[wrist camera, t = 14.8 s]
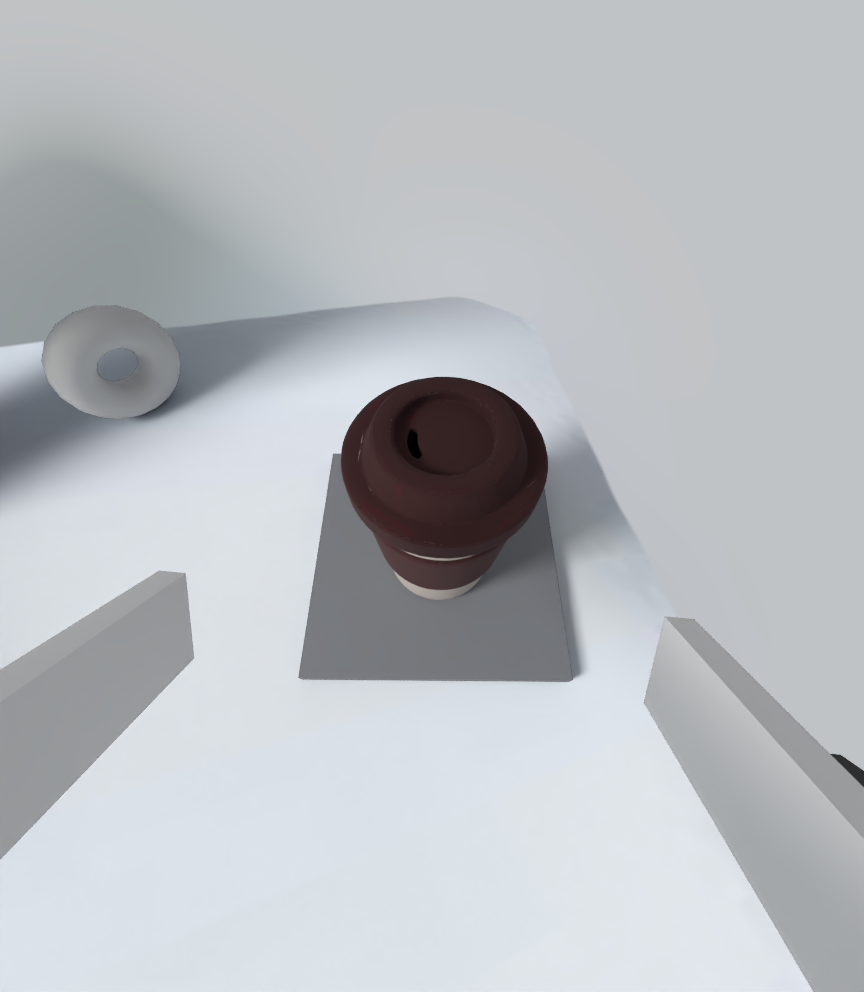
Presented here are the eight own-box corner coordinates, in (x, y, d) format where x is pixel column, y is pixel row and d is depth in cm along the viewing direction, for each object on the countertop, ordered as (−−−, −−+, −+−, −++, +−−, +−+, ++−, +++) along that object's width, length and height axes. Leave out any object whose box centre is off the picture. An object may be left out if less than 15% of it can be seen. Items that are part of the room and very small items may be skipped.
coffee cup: (520, 523, 33) (580, 386, 20) (478, 643, 28) (520, 569, 15) (406, 481, 35) (392, 331, 21) (349, 588, 30) (289, 479, 17)
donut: (187, 369, 42) (125, 276, 34) (206, 385, 41) (147, 293, 33) (93, 425, 39) (-4, 337, 30) (111, 445, 38) (16, 359, 29)
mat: (302, 679, 28) (298, 677, 27) (335, 460, 37) (333, 453, 36) (568, 681, 28) (572, 680, 27) (536, 462, 37) (539, 455, 36)
